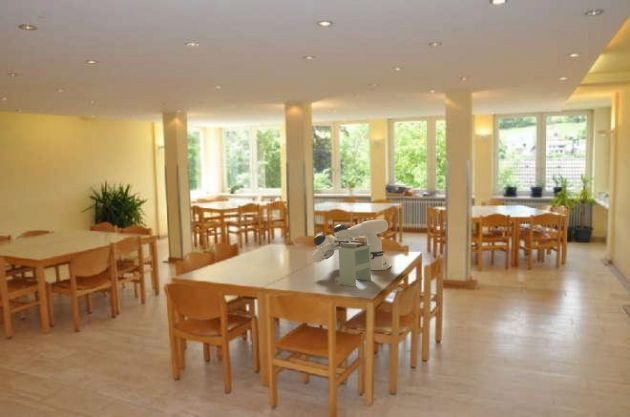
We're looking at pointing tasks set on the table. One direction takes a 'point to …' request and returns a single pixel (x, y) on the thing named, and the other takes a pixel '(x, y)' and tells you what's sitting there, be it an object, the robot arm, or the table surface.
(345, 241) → the board with handle
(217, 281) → the table surface
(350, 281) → the stand
